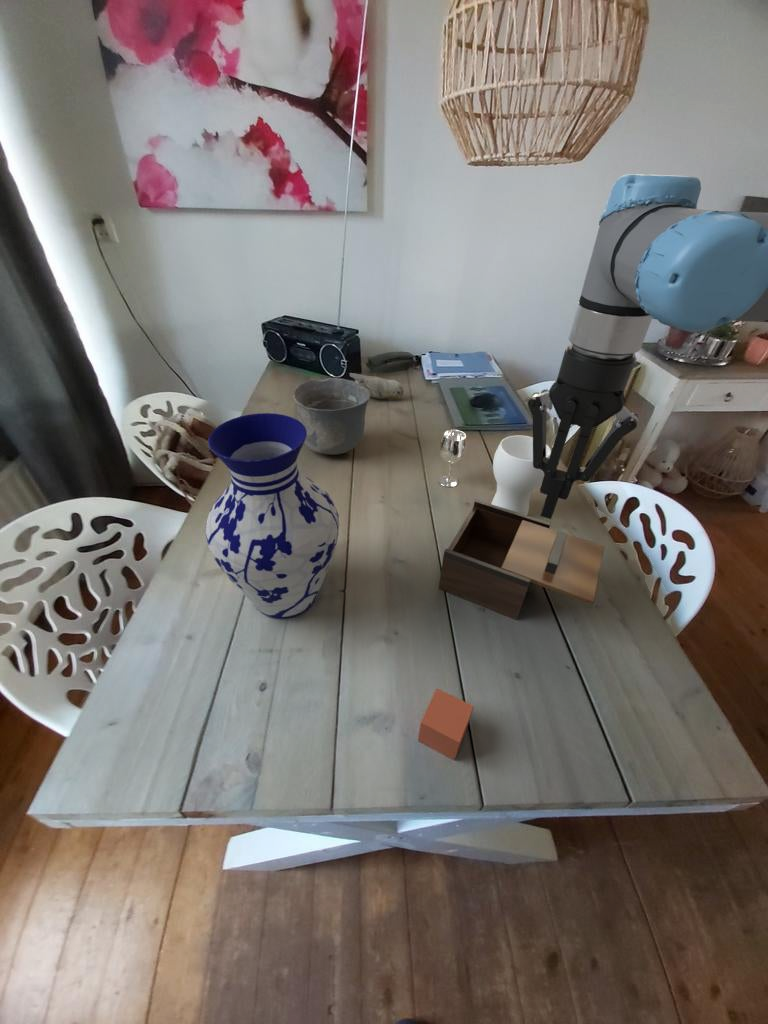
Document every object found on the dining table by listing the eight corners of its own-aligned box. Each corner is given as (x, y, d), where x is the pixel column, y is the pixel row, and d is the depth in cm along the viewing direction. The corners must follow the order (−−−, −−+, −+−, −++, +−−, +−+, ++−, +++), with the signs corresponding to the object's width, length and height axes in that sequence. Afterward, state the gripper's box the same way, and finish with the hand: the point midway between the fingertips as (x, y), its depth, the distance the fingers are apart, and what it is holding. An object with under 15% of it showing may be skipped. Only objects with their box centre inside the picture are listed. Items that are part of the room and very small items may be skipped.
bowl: (375, 435, 116) (376, 380, 106) (363, 472, 102) (363, 413, 93) (310, 429, 118) (305, 374, 108) (289, 464, 104) (281, 405, 95)
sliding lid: (592, 605, 63) (598, 592, 62) (500, 571, 68) (503, 558, 66) (603, 549, 73) (608, 536, 71) (521, 523, 77) (524, 510, 76)
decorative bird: (402, 404, 131) (403, 380, 126) (348, 400, 132) (348, 376, 127) (403, 396, 135) (404, 372, 130) (351, 393, 136) (351, 369, 131)
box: (516, 620, 71) (529, 582, 65) (438, 588, 75) (444, 551, 70) (538, 559, 82) (551, 522, 76) (468, 535, 86) (475, 499, 81)
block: (454, 760, 54) (459, 742, 51) (417, 740, 56) (420, 722, 53) (468, 724, 58) (473, 706, 54) (432, 707, 59) (436, 687, 56)
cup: (505, 488, 99) (519, 428, 89) (545, 511, 93) (565, 450, 83) (473, 506, 93) (485, 444, 84) (514, 532, 87) (531, 469, 78)
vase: (272, 664, 64) (231, 500, 45) (205, 592, 74) (149, 433, 55) (366, 592, 74) (365, 436, 55) (297, 538, 84) (276, 390, 65)
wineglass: (432, 484, 99) (437, 438, 92) (440, 472, 103) (446, 426, 96) (456, 491, 97) (464, 444, 90) (464, 478, 101) (471, 432, 94)
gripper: (667, 349, 49) (598, 512, 64) (549, 329, 54) (510, 486, 69) (665, 370, 44) (590, 542, 59) (535, 347, 49) (496, 512, 64)
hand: (547, 512), depth 64 cm, fingers closed
